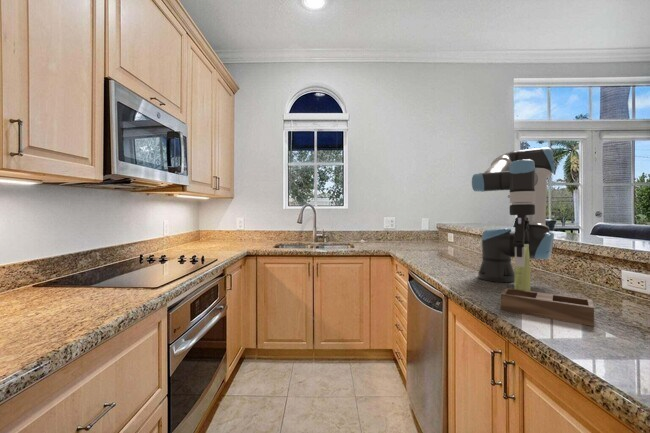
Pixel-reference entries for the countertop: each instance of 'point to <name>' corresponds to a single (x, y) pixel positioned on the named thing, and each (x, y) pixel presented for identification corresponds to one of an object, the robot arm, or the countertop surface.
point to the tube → (523, 273)
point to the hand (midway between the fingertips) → (522, 263)
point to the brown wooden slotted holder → (548, 306)
